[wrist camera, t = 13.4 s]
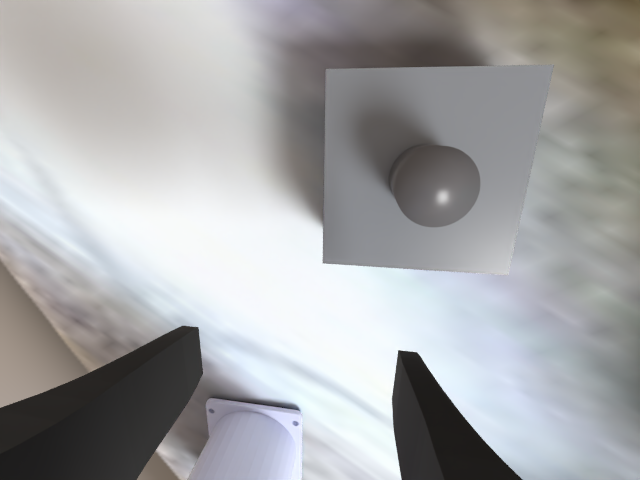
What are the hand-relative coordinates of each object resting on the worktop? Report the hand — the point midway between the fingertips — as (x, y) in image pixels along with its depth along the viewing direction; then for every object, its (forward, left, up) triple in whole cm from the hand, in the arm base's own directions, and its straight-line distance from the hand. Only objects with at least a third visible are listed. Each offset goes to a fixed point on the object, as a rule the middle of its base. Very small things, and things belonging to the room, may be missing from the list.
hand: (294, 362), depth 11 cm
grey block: (+6, -5, -10) cm, 13 cm away
